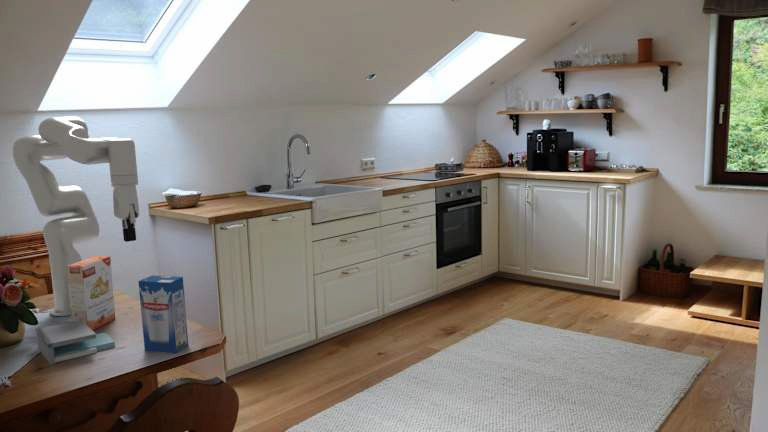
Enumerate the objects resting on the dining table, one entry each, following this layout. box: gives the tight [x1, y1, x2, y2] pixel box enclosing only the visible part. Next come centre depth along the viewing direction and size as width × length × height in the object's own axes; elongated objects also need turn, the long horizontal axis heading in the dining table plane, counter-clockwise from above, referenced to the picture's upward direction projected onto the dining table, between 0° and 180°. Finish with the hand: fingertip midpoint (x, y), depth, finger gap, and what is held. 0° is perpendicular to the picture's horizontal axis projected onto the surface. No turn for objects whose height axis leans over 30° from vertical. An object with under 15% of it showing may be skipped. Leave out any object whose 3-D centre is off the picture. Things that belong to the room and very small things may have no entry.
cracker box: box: [67, 255, 116, 332], centre depth 203 cm, size 14×6×21 cm, turn 168°
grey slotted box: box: [35, 320, 98, 365], centre depth 183 cm, size 16×12×6 cm
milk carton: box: [138, 275, 189, 354], centre depth 182 cm, size 10×6×20 cm, turn 75°
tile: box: [53, 332, 116, 357], centre depth 185 cm, size 10×16×2 cm, turn 128°
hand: (130, 240), depth 199 cm, fingers closed
